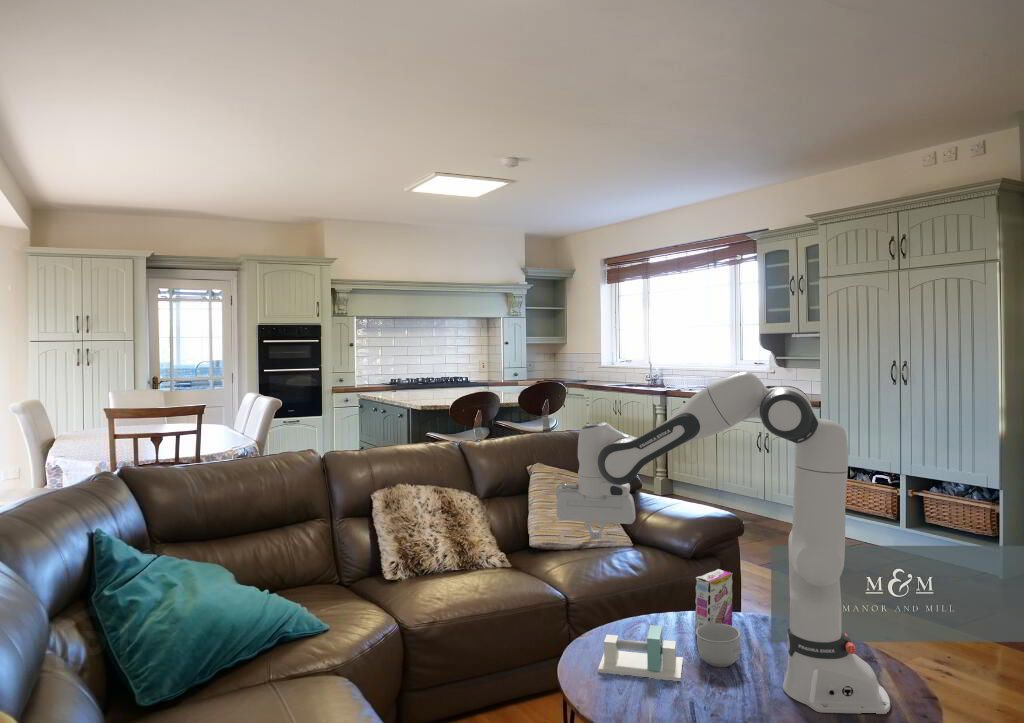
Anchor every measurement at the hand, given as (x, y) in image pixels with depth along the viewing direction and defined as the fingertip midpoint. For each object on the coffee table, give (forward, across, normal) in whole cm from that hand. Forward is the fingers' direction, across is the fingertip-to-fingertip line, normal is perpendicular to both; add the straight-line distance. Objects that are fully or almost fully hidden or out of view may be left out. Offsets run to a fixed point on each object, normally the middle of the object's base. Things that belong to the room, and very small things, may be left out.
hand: (595, 538), depth 187 cm
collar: (+30, +15, -3) cm, 34 cm away
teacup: (+31, +30, +6) cm, 44 cm away
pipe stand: (+31, +12, -3) cm, 34 cm away
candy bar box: (+31, +29, +22) cm, 48 cm away
